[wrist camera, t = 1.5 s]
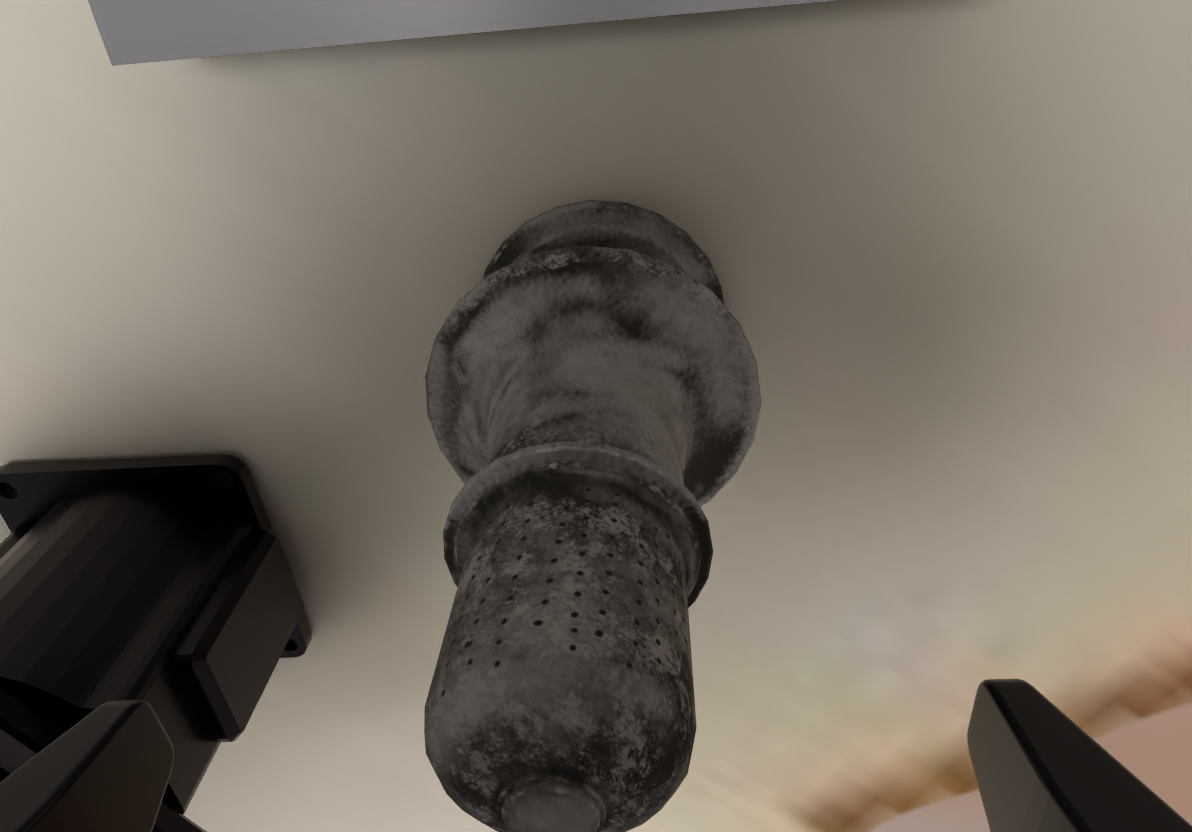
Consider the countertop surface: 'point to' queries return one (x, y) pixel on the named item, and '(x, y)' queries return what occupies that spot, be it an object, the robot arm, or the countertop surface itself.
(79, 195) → the countertop surface
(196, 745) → the robot arm
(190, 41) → the charcoal tray
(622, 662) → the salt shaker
